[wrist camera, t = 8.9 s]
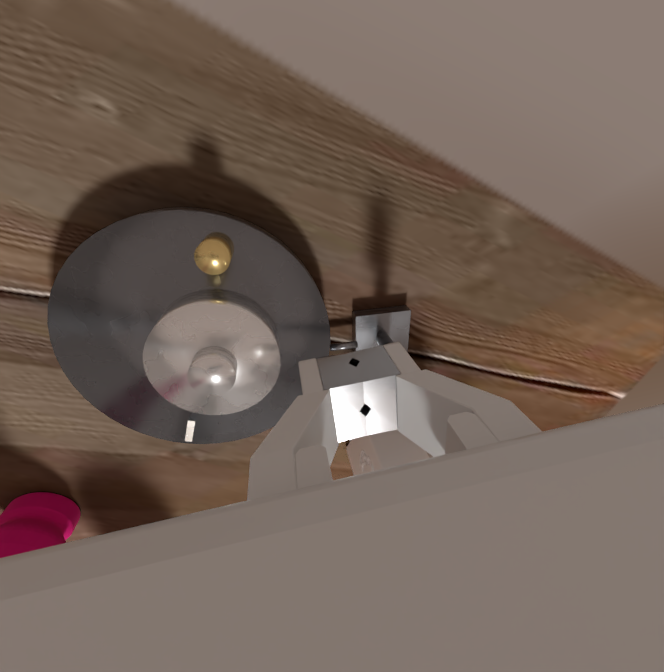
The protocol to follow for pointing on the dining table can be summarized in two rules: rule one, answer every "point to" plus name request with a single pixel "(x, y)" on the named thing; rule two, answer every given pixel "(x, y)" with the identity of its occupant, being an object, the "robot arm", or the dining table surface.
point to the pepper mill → (36, 522)
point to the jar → (383, 452)
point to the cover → (213, 352)
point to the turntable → (158, 294)
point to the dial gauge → (378, 328)
